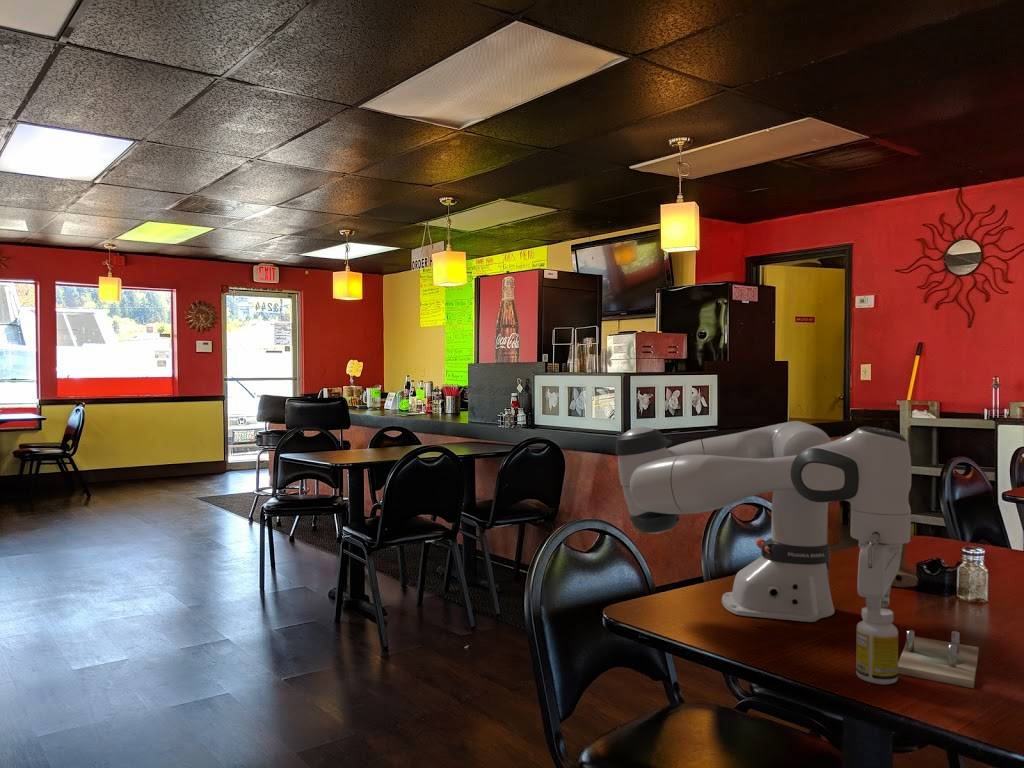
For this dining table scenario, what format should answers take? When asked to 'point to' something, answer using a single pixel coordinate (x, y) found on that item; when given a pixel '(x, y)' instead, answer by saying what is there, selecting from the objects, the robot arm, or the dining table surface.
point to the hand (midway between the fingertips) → (878, 613)
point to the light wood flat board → (939, 662)
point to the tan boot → (904, 573)
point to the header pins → (952, 648)
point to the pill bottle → (877, 649)
